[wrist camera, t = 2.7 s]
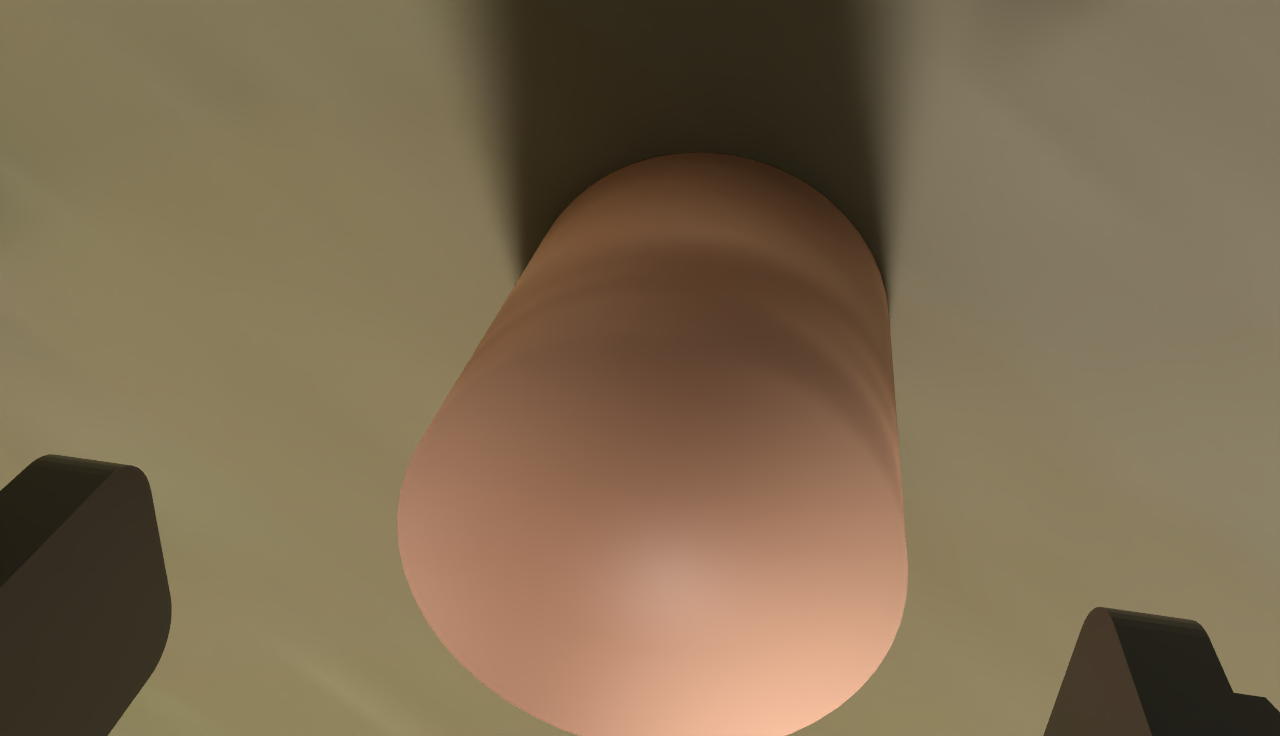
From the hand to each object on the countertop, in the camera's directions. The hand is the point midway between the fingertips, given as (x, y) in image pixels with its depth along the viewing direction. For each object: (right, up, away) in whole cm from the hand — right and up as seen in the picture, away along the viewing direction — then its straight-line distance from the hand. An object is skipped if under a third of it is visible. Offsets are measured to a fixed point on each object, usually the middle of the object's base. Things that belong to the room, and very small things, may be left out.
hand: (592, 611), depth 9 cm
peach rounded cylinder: (+1, +3, +5) cm, 6 cm away
